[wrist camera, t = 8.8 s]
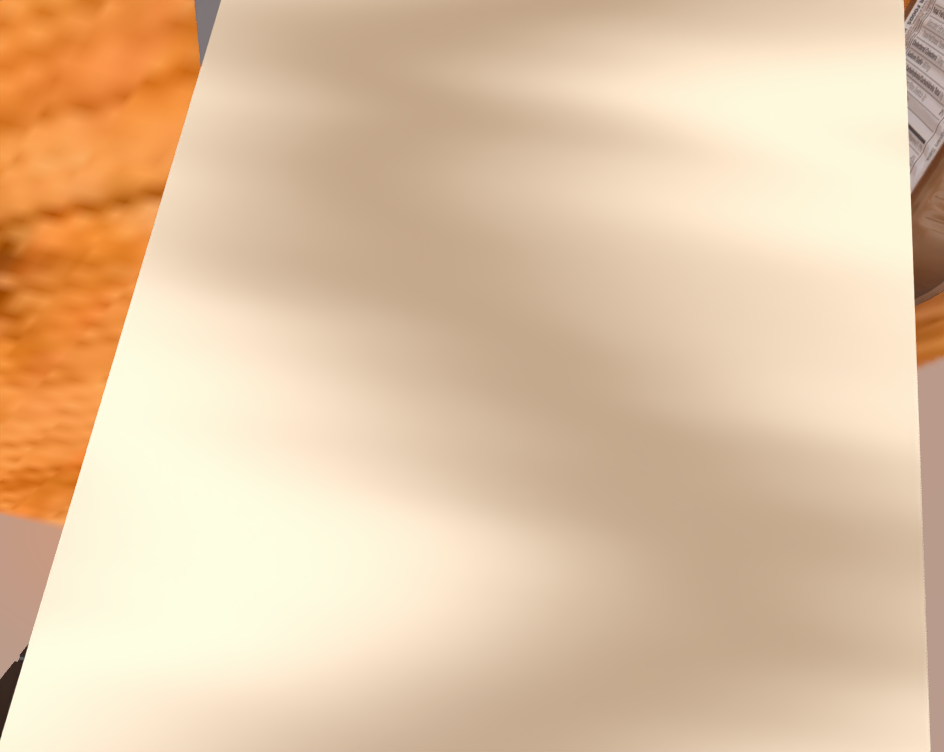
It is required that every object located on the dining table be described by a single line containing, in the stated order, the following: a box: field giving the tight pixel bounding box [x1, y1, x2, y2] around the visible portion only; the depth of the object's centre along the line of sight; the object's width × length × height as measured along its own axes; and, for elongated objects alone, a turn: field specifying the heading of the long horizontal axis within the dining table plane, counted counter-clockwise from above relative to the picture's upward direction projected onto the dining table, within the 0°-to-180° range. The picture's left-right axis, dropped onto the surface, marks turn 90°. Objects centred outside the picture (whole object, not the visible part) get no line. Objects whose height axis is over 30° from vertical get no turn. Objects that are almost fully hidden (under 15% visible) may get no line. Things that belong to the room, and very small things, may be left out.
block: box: [0, 0, 931, 752], centre depth 10 cm, size 6×8×12 cm
